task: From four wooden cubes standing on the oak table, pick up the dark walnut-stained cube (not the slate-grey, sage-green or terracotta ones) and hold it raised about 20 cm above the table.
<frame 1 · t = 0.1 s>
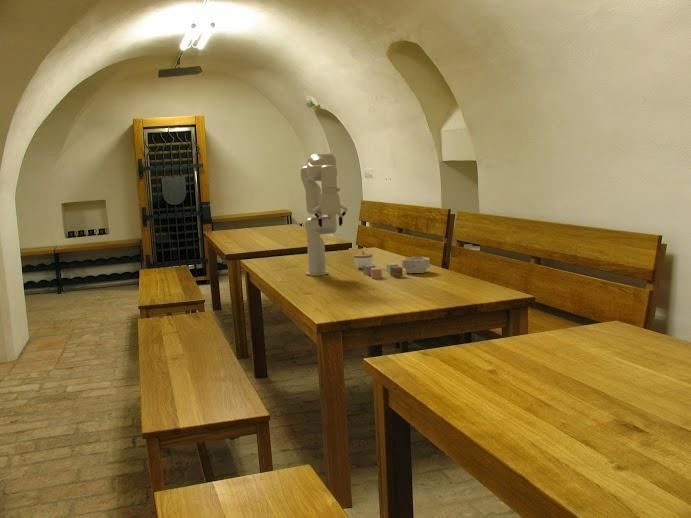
hand: (330, 226, 346), 31 cm above the table, tool pointing down, fingers open, 9 cm apart
sage block: (392, 272, 390), on the table
slate block: (369, 274, 388), on the table
lidded jar: (363, 268, 409), on the table
terracotta block: (376, 277, 377), on the table
walnut block: (396, 276, 379), on the table
paper bowls: (415, 272, 388), on the table
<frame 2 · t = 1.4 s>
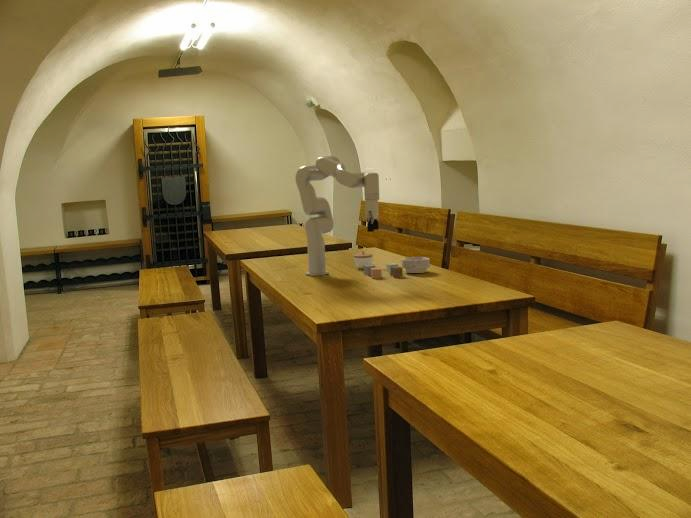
hand: (373, 230, 364), 26 cm above the table, tool pointing down, fingers open, 9 cm apart
nothing on the table moved.
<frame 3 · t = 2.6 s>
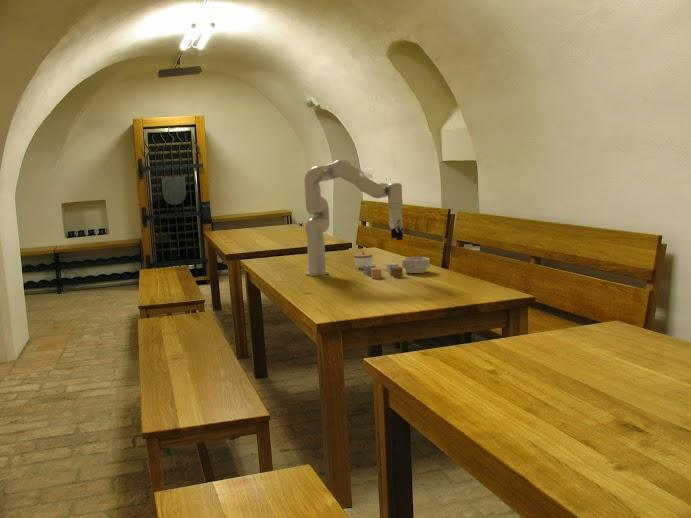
hand: (397, 238, 375), 20 cm above the table, tool pointing down, fingers open, 9 cm apart
nothing on the table moved.
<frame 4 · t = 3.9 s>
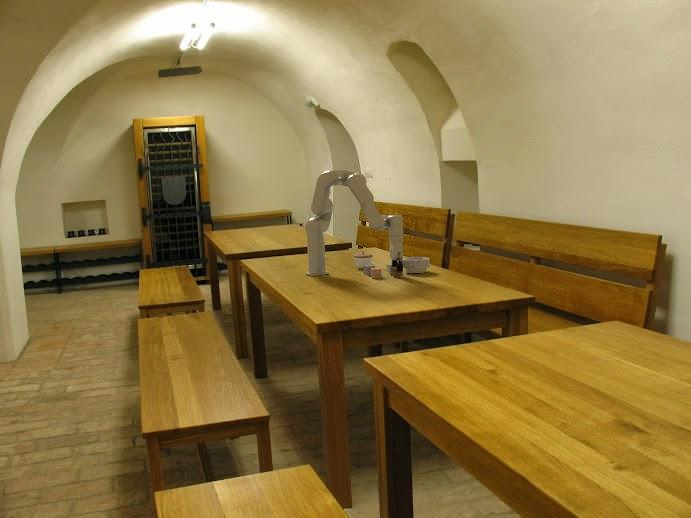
hand: (397, 270, 378), 3 cm above the table, tool pointing down, fingers open, 9 cm apart
nothing on the table moved.
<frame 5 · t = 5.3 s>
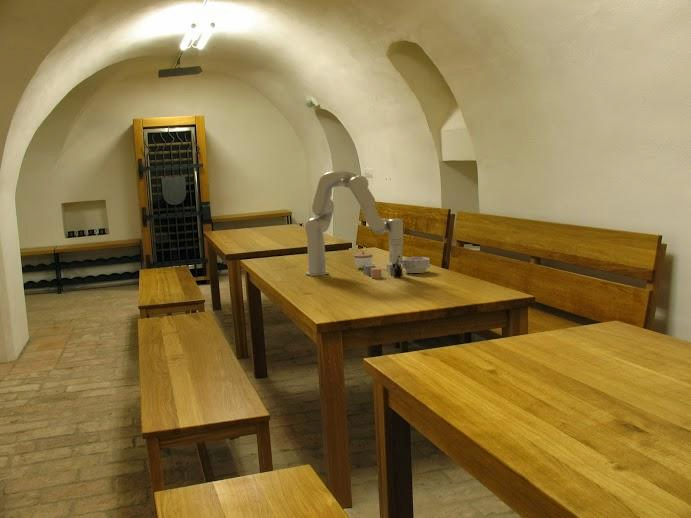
hand: (396, 275, 378), 0 cm above the table, tool pointing down, fingers closed on walnut block, 5 cm apart
walnut block: (396, 276, 379), on the table, touching gripper
everything else where it was.
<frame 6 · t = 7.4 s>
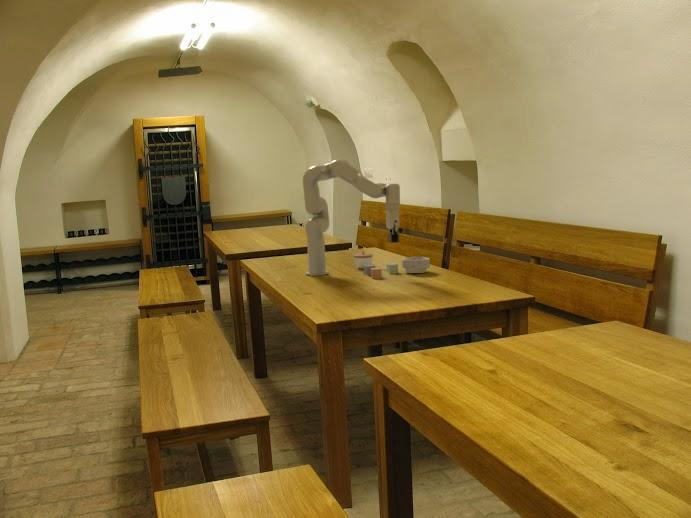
hand: (393, 241, 376), 19 cm above the table, tool pointing down, fingers closed on walnut block, 5 cm apart
walnut block: (393, 242, 376), point 18 cm above the table, touching gripper
everything else where it was.
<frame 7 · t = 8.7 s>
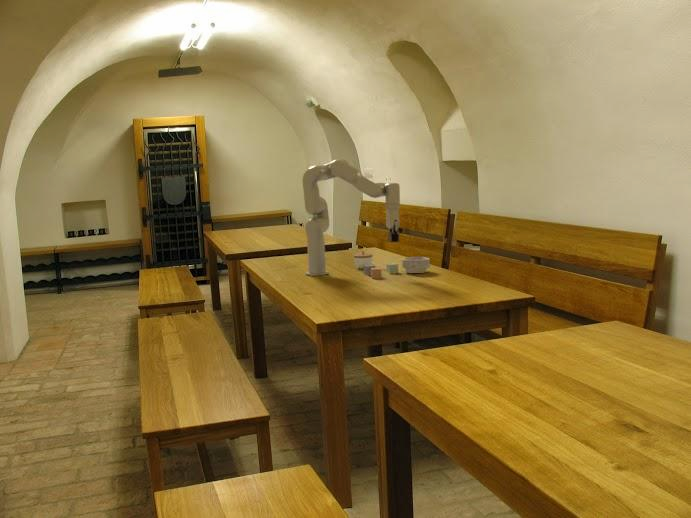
hand: (393, 240, 376), 19 cm above the table, tool pointing down, fingers closed on walnut block, 5 cm apart
walnut block: (393, 241, 376), point 19 cm above the table, touching gripper
everything else where it was.
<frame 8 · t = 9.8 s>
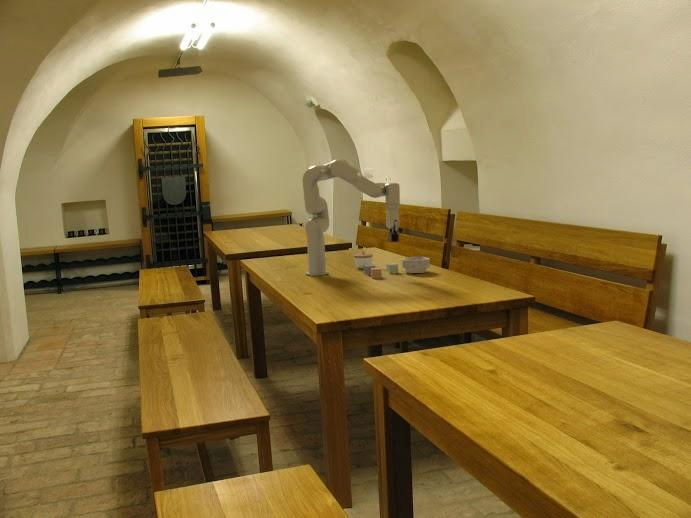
hand: (393, 240, 376), 19 cm above the table, tool pointing down, fingers closed on walnut block, 5 cm apart
walnut block: (393, 241, 376), point 19 cm above the table, touching gripper
everything else where it was.
at the end: the gripper is holding walnut block; walnut block point 18.8 cm above the table; sage block moved 0.1 cm from its start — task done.
